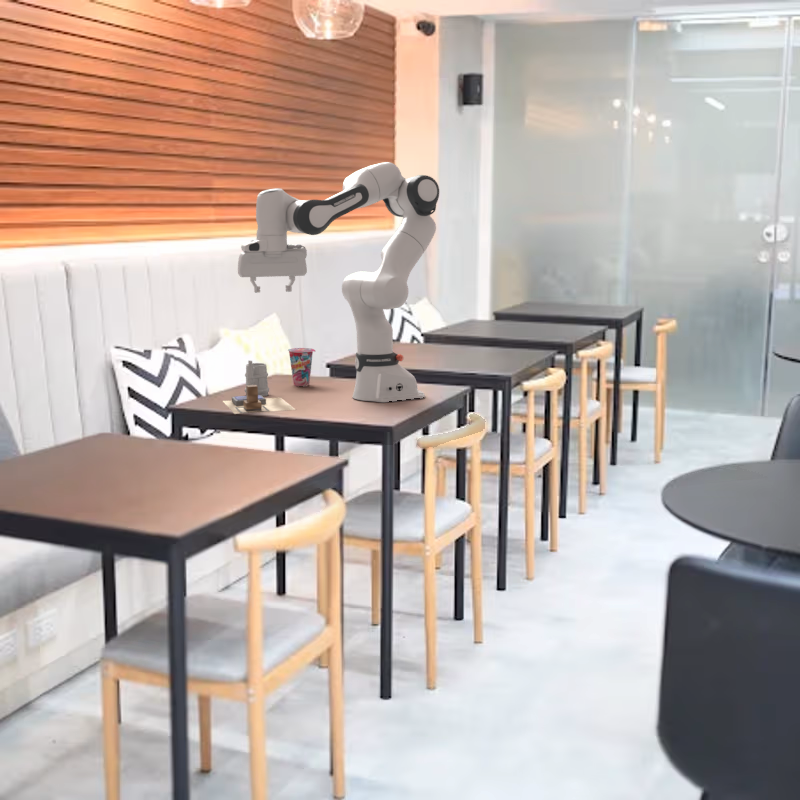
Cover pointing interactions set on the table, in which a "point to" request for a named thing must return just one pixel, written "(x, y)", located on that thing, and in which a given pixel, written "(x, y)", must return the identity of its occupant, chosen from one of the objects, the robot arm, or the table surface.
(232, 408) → the board
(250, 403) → the stamp
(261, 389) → the mug
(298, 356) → the cup
